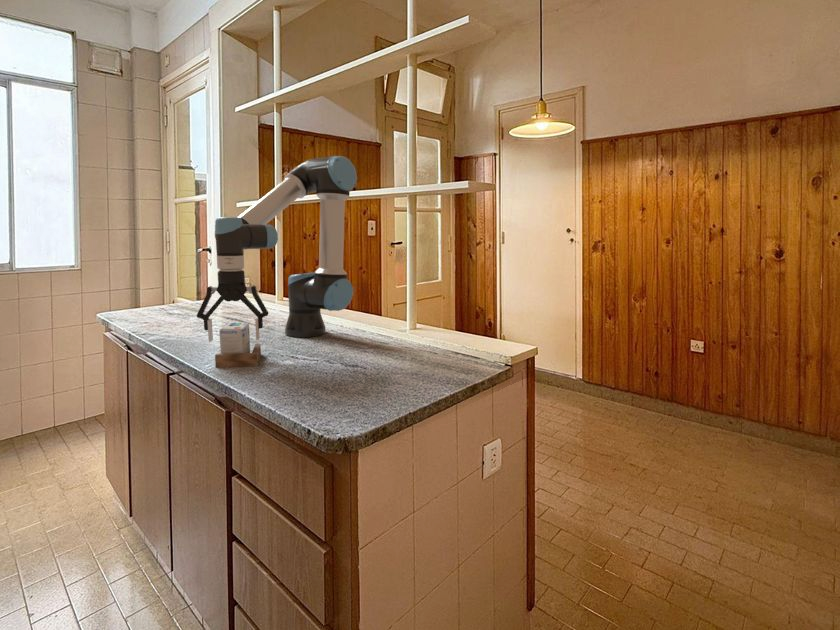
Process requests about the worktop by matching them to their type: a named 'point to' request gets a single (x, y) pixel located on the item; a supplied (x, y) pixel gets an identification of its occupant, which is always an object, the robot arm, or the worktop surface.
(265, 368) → the worktop surface
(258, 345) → the walnut corner fence
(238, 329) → the light bulb box
